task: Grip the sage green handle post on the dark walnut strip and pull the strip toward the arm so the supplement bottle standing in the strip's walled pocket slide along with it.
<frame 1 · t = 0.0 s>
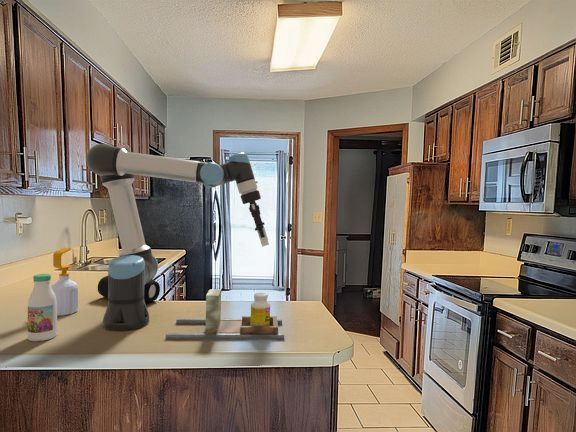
hand: (265, 243, 146), 28 cm above the worktop, tool tilted 20°, fingers open, 13 cm apart
lane rails: (259, 330, 127), on the worktop
supplement bottle: (259, 331, 127), resting in strip
soap bottle: (64, 312, 140), on the worktop
portable speaker: (128, 300, 159), on the worktop
milk bottle: (42, 337, 116), on the worktop
strip: (242, 311, 126), point 7 cm above the worktop, slide at 0.0 cm
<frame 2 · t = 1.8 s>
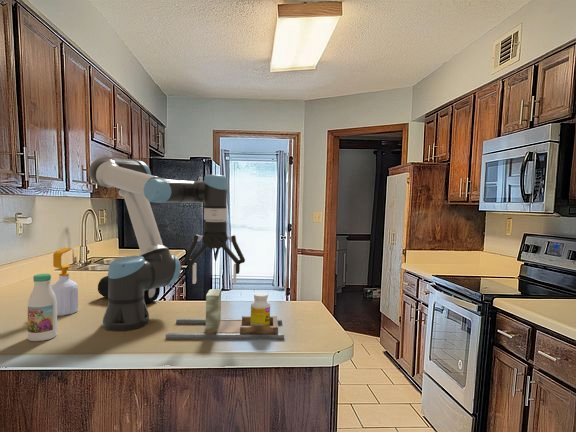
hand: (214, 283, 125), 17 cm above the worktop, tool pointing down, fingers open, 13 cm apart
nothing on the worktop moved.
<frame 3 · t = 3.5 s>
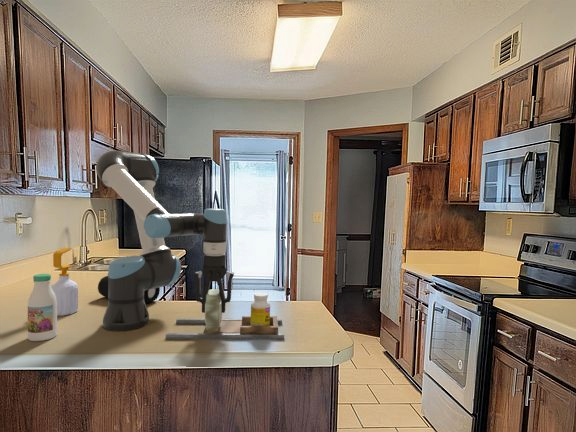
hand: (213, 321, 126), 3 cm above the worktop, tool pointing down, fingers closed on strip, 4 cm apart
strip: (242, 311, 126), point 7 cm above the worktop, slide at 0.0 cm, touching gripper
everything else where it was.
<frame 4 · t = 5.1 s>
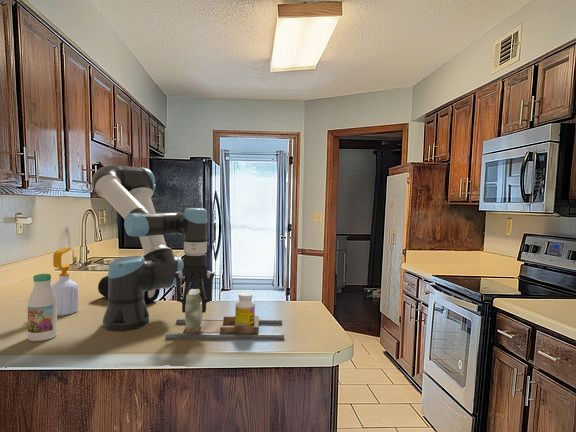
hand: (194, 321, 125), 3 cm above the worktop, tool pointing down, fingers closed on strip, 4 cm apart
supplement bottle: (244, 331, 127), resting in strip
strip: (223, 311, 126), point 7 cm above the worktop, slide at 6.5 cm, touching gripper
everything else where it was.
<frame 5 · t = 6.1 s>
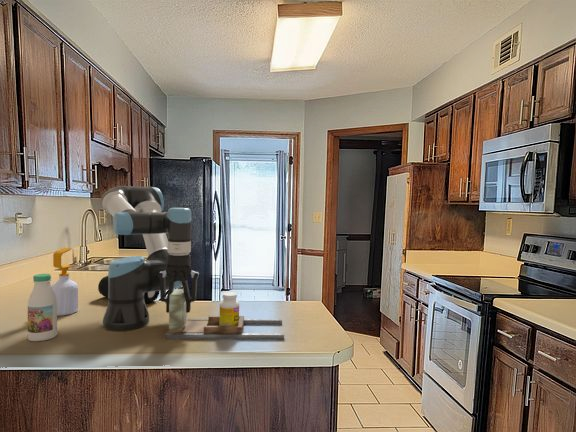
hand: (178, 321, 125), 3 cm above the worktop, tool pointing down, fingers closed on strip, 4 cm apart
supplement bottle: (229, 331, 126), resting in strip
strip: (207, 311, 125), point 7 cm above the worktop, slide at 11.9 cm, touching supplement bottle, gripper
everything else where it was.
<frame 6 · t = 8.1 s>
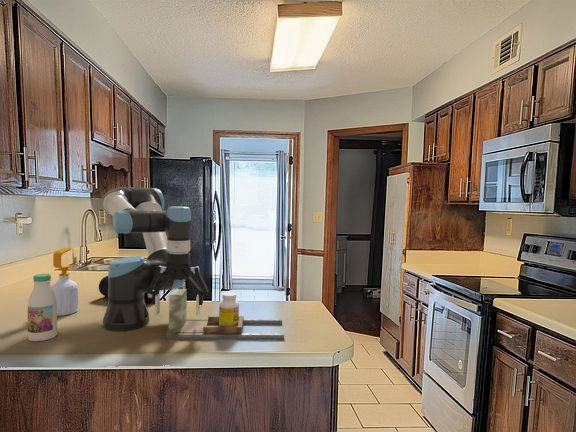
hand: (177, 314, 125), 6 cm above the worktop, tool pointing down, fingers open, 13 cm apart
supplement bottle: (228, 331, 126), resting in strip
strip: (207, 311, 125), point 7 cm above the worktop, slide at 12.0 cm
everything else where it was.
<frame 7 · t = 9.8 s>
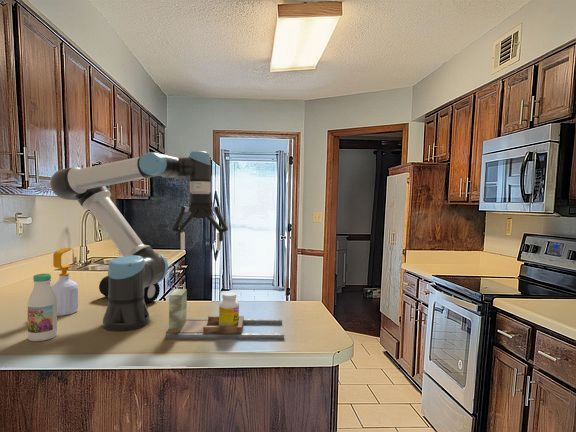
hand: (200, 249, 138), 26 cm above the worktop, tool pointing down, fingers open, 13 cm apart
nothing on the worktop moved.
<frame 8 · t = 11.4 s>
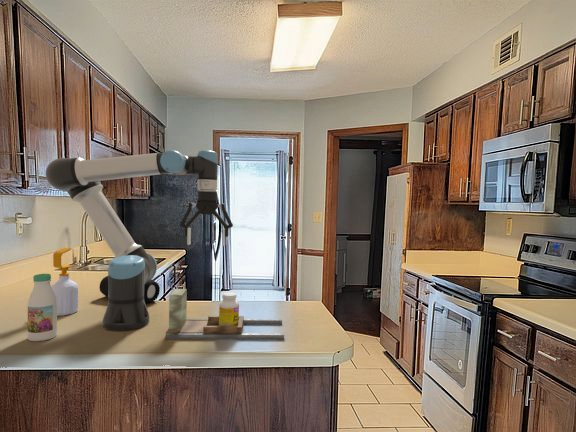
hand: (206, 244, 145), 27 cm above the worktop, tool pointing down, fingers open, 13 cm apart
nothing on the worktop moved.
at the end: strip slide at 12.0 cm; supplement bottle moved 10.7 cm from its start; supplement bottle tilted 0° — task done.
